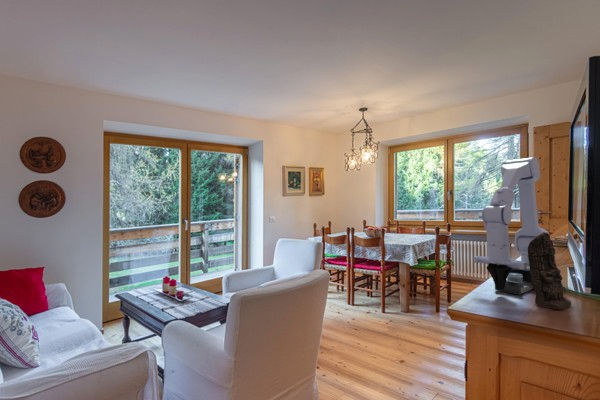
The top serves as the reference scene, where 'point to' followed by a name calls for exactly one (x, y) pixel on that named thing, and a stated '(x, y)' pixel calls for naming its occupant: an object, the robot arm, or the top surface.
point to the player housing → (523, 273)
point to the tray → (516, 287)
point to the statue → (546, 273)
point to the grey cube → (516, 278)
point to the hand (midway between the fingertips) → (500, 289)
